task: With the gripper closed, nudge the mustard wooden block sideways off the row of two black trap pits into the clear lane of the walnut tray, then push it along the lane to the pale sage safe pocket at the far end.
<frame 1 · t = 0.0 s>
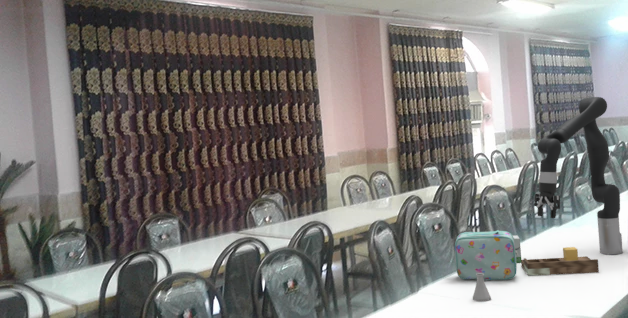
hand: (546, 217, 274), 22 cm above the table, tool pointing down, fingers open, 8 cm apart
lunch box: (488, 278, 264), on the table
ink box: (515, 261, 289), on the table
flask: (481, 299, 235), on the table
block: (570, 259, 270), point 3 cm above the table, touching trap deck
trap deck: (558, 269, 267), on the table
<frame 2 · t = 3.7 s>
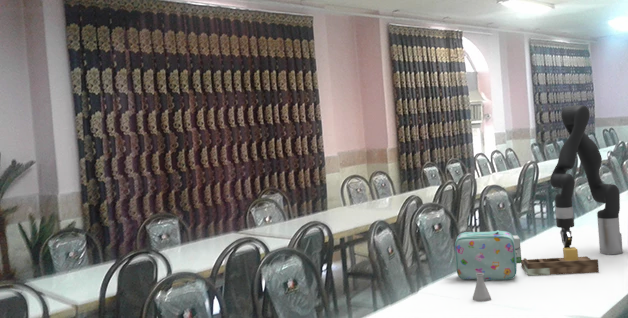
hand: (567, 253, 275), 5 cm above the table, tool pointing down, fingers closed
block: (570, 259, 270), point 3 cm above the table, touching gripper
everything else where it was.
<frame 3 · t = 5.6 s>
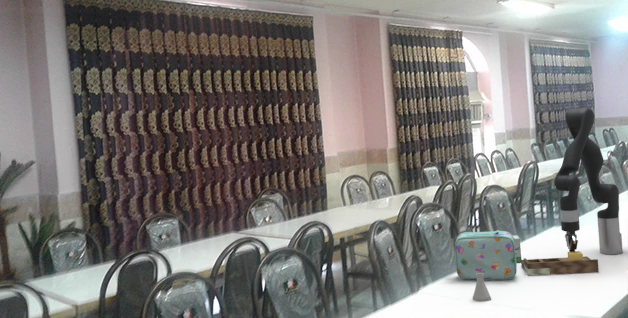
hand: (572, 257, 266), 5 cm above the table, tool pointing down, fingers closed
block: (575, 264, 261), point 3 cm above the table, touching gripper, trap deck
everything else where it was.
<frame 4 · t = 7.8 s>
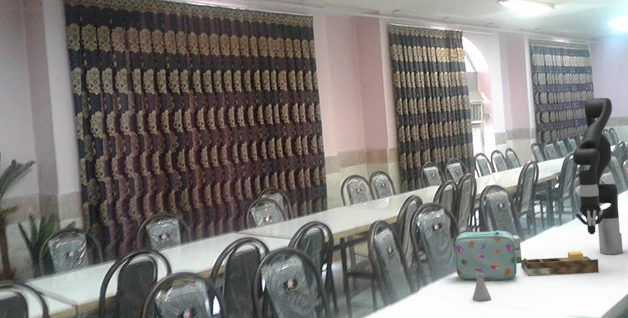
hand: (591, 233, 260), 16 cm above the table, tool pointing down, fingers closed
block: (576, 264, 261), point 3 cm above the table, touching trap deck
everything else where it was.
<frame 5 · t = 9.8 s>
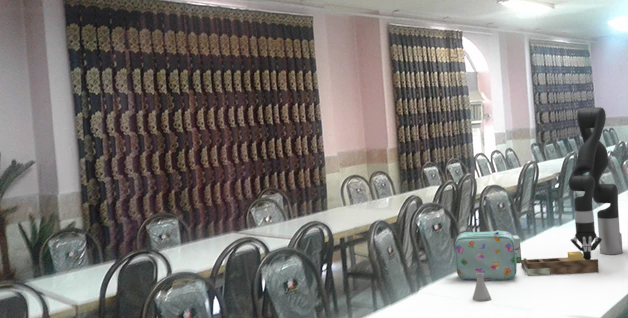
hand: (587, 259, 261), 5 cm above the table, tool pointing down, fingers closed
block: (575, 264, 261), point 3 cm above the table, touching gripper
everything else where it was.
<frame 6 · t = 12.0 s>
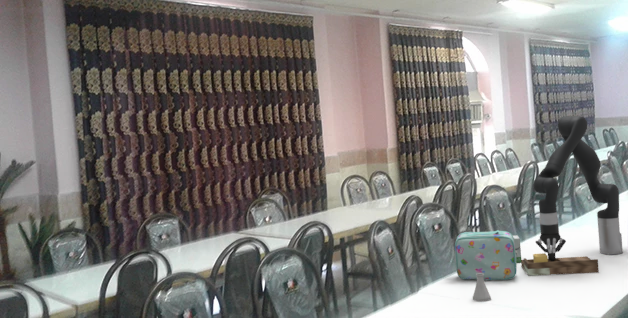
hand: (552, 261, 263), 5 cm above the table, tool pointing down, fingers closed
block: (541, 266, 264), point 3 cm above the table, touching gripper
everything else where it was.
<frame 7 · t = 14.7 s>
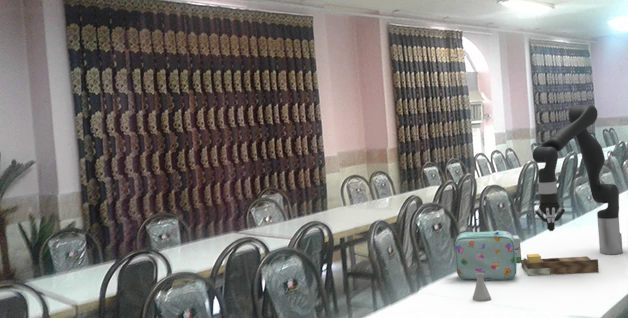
hand: (551, 230, 263), 18 cm above the table, tool pointing down, fingers closed
block: (534, 266, 264), point 3 cm above the table, touching trap deck
everything else where it was.
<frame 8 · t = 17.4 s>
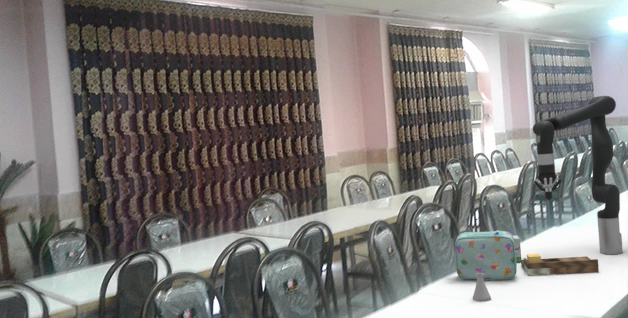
hand: (548, 199, 282), 29 cm above the table, tool pointing down, fingers closed
nothing on the table moved.
at the end: block inside the target area (1.5 cm from its centre), point 3.0 cm above the table; block tilted 0° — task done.
